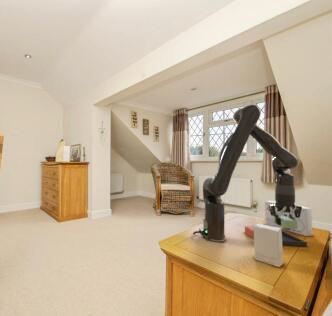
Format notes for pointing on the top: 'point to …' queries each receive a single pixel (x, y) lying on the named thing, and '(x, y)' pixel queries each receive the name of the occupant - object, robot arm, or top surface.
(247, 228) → the terracotta pad
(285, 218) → the sage pad
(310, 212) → the skincare box
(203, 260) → the top surface
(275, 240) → the cosmetic box
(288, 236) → the frame
